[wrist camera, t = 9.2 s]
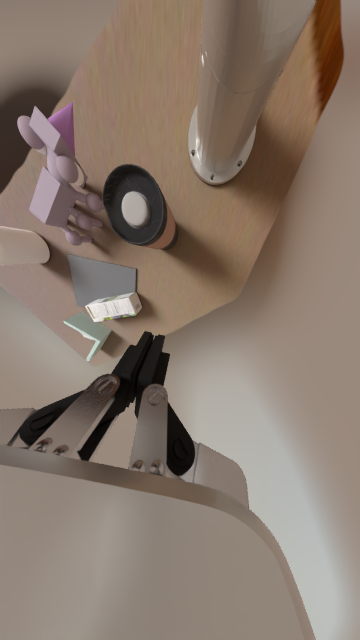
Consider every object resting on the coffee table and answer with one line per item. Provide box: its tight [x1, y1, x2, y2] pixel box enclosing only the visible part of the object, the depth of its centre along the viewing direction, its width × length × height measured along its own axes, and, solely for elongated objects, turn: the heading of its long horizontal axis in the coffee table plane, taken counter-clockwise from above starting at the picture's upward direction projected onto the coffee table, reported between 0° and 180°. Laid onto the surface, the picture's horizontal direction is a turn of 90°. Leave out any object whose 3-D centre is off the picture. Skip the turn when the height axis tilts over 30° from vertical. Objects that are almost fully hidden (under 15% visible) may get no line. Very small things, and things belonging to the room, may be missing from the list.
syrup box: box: [85, 292, 142, 322], centre depth 40 cm, size 6×6×14 cm
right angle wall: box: [63, 312, 112, 361], centre depth 46 cm, size 12×12×8 cm
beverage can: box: [0, 226, 50, 266], centre depth 31 cm, size 8×8×12 cm
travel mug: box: [102, 164, 178, 249], centre depth 24 cm, size 8×8×20 cm
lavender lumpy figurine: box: [18, 102, 106, 245], centre depth 25 cm, size 20×11×14 cm, turn 134°
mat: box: [67, 254, 136, 317], centre depth 41 cm, size 16×20×1 cm
